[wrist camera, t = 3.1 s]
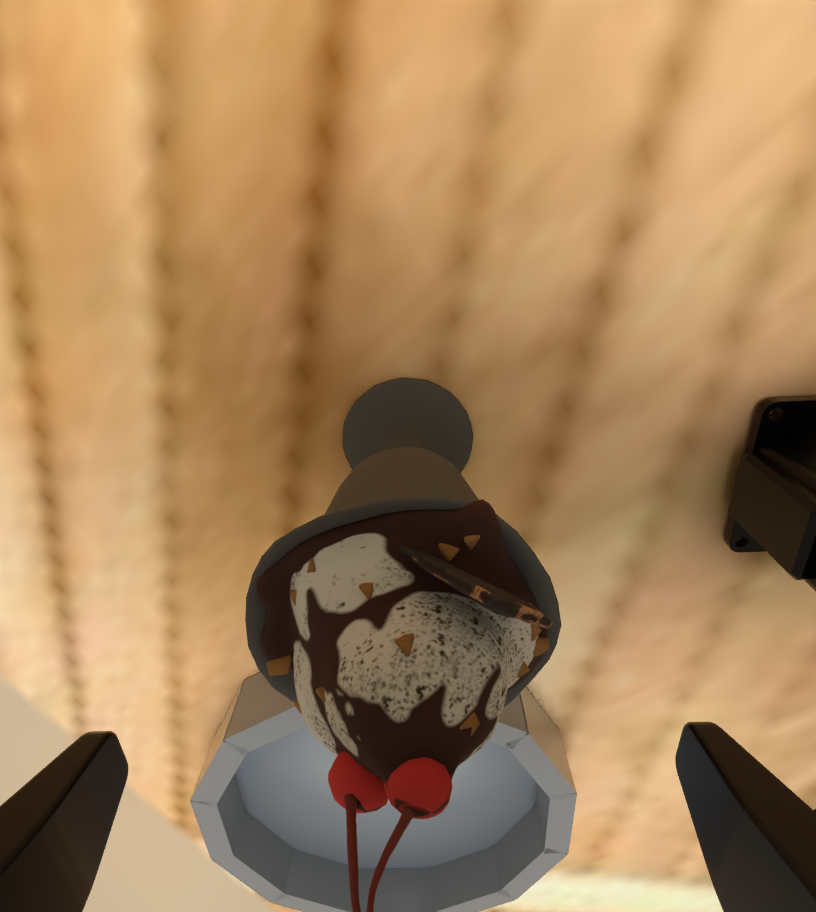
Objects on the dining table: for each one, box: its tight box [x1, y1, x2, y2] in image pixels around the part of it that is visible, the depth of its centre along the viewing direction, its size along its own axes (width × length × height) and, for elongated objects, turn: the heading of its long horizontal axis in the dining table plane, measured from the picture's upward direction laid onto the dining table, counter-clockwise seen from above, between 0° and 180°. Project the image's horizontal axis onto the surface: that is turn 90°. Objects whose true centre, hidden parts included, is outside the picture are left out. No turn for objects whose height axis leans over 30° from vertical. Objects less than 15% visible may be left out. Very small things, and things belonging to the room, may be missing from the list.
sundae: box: [246, 378, 561, 912], centre depth 14 cm, size 7×7×15 cm
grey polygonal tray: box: [190, 672, 577, 912], centre depth 27 cm, size 18×18×3 cm
